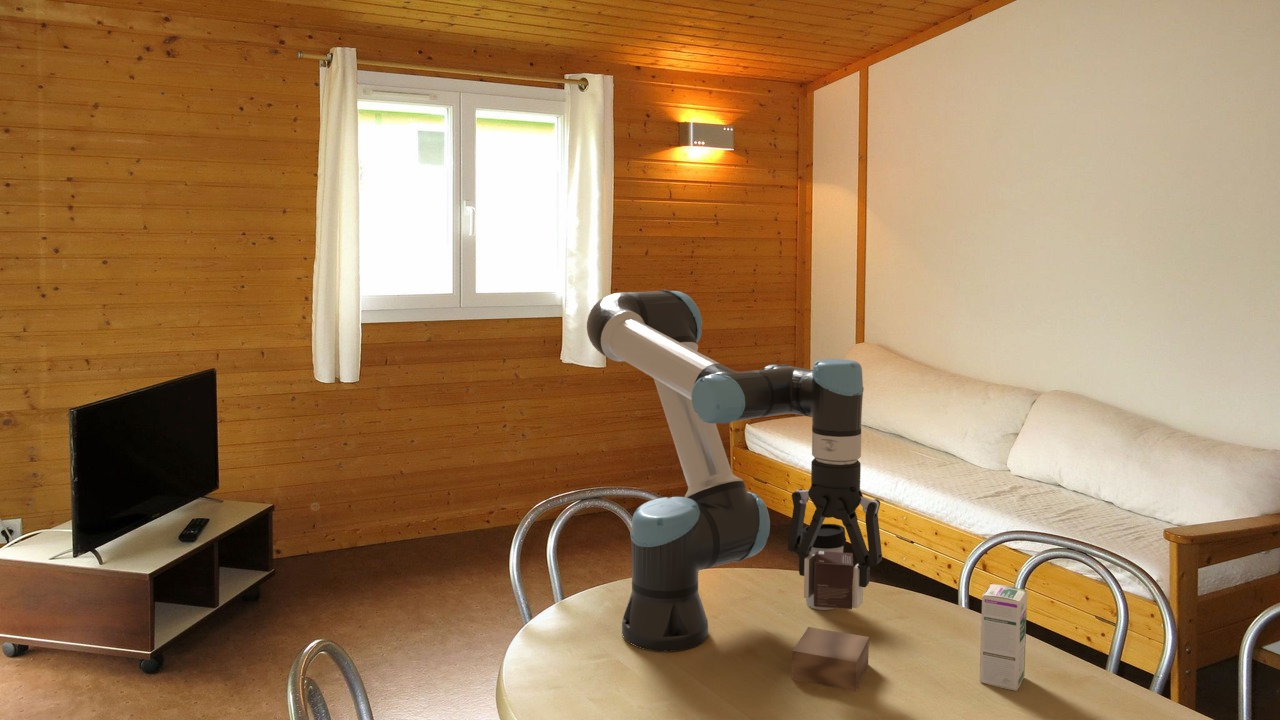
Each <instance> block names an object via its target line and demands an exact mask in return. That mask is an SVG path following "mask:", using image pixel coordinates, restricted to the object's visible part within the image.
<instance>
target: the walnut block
mask: <svg viewBox="0 0 1280 720" xmlns="http://www.w3.org/2000/svg"><path fill="white" fill-rule="evenodd" d="M869 646H870V637H869V636H864V635H859V634H853V633H847V632H841V631H834V630H830V629H825V628H824V629H823V628H817V627H811V626H808V627H807V628H806V630H805V631H804V633H803V635H801V637H800V638H799V640H798V642H797V644H796V645H795V646H794V647H793V649H792V659H791V663H792V664H791V665H792V666H791V679H792V680H793V681H794V680H795V681H799V682H805V683H809V684H815V685H819V686H826V687H830V688H835V689H841V690H845V691H851V692H857V690H858V688H859V686H860V683H861V682H862V679H863V677H864V675H865V672H866V670H867V668H868V666H869V657H870V656H869V654H870V653H869V651H870V650H869V649H870V647H869Z"/></svg>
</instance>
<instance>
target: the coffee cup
mask: <svg viewBox="0 0 1280 720" xmlns="http://www.w3.org/2000/svg"><path fill="white" fill-rule="evenodd" d="M809 526H810V524H809V525H805V526H803V530H802V536H801V543H802V542H803V540H804V538H805V535H806V533H807V531H808V528H809ZM846 541H847V538H846V527H845V526H842V525H840V524H836V523H822V526H821V528H820V530H819V533H818V535H817V537H816V540H815V542H814V544H813V547H812V549H811V550H812V551H811V552H810V553H809V555H810V554H815V552H816V551H824V552H841V553H844V547H845V546H846V544H847V542H846ZM805 603H806V605H807V607H809V608H811V609H814V610H819V611H830V610H831V611H832V610H835V609H836V608H823V607H814V594H813V595H812V596H811V597H810V598H809V599H807V598H805Z"/></svg>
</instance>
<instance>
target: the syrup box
mask: <svg viewBox="0 0 1280 720" xmlns="http://www.w3.org/2000/svg"><path fill="white" fill-rule="evenodd" d="M1027 604H1028V591H1027V590H1026V589H1023V588H1018V587H1016V586H1015V587H1014V586H1010V585H1004V584H1003V585H1002V584H993V583H991V584H989V586H988V588H986V590H985V591H984V592H983V594H982V596H981V620H980V621H981V624H980V657H979V658H980V659H979V660H980V661H979V662H980V663H979V682H980V683H982V684H986V685H989V686H992V687H997V688H1001V689H1006V690H1010V691H1013V692H1014V691H1016V692H1018V690H1019V688H1020V686H1021V684H1022V682H1023V680H1024V678H1025V669H1026V666H1025V665H1026V664H1025V663H1026V642H1027V641H1026V639H1027V638H1026V637H1027V635H1026V634H1027V633H1026V632H1027V608H1028V605H1027Z"/></svg>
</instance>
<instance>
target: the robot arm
mask: <svg viewBox="0 0 1280 720" xmlns="http://www.w3.org/2000/svg"><path fill="white" fill-rule="evenodd" d="M701 327H703V319H702V315H701V311H700V309H699V307H698V306H697V303H696V302H695V300H693V298H692V297H690V296H689V295H688V294H687V293H684V292H682V291H679V290H668V289H658V290H655V291H653V290H652V291H634V292H633V291H629V292H628V291H627V292H625V291H623V292H615V293H611V294H607V295H606V296H604V297H602V298H600V299H599V300H597V302H596V303H595V304H594V305H593V306H592V308H591V310H590V311H589V314H588V316H587V321H586V330H587V333H586V334H587V336H588V339H589V341H590V343H591V345H592V346H593V347H594V348H595V350H596V351H597V352H599V353H600V354H601V355H603V356H604V357H606V358H607V359H609V360H612V361H615V362H620V363H621V362H625V363H627V364H629V365H630V366H632V367H634V368H636V369H638V370H639V371H641V372H643V373H644V374H646V375H647V376H650V377H651V378H653V381H654V383H655V386H656V390H657V393H658V397H659V400H660V402H661V403H660V404H661V406H662V409H663V411H664V415H665V418H666V422H667V425H668V429H669V431H670V433H671V438H672V440H673V444H674V447H675V449H676V450H675V451H676V454H677V456H678V460H679V464H680V465H681V469H682V471H683V472H682V473H683V476H684V480H685V481H686V485H687V491H686V494H685V495H684V496H672V497H668V496H665V497H664V496H663V497H659V498H655V499H651V500H649V501H647V502H644V503H643V504H641V505H639V506H638V507H637V508H636V509H635V511H634V513H633V515H632V521H631V531H630V540H631V593H630V596H629V599H628V603H627V605H626V608H625V612H624V615H623V618H622V622H621V624H622V625H621V634H623V635H622V637H623V636H624V638H625V639H626V640H627V641H629V642H630V643H632V644H634V645H636V646H638V647H637V648H639V647H641V648H640V649H642V648H644V649H643V650H646V649H647V651H652V650H653V651H654V652H678V651H685V650H689V649H693V648H695V647H698V646H699V645H701V644H703V643H704V642H705V641H706V640H707V639H708V636H709V621H708V618H707V615H706V612H705V609H704V605H703V602H702V598H701V596H700V594H699V593H700V592H699V571H702V570H705V569H709V568H715V567H718V566H722V565H725V564H726V565H727V564H729V563H735V562H736V563H738V562H742V561H744V560H746V559H747V558H751V557H754V556H756V555H757V554H759V553H760V552H762V550H763V549H764V547H765V546H766V544H767V542H768V537H769V536H770V529H771V519H770V514H769V510H768V508H767V505H766V503H765V502H764V500H763V499H762V498H760V497H759V495H758V494H756V493H754V492H750V491H748V490H747V487H746V485H745V481H744V480H743V479H742V478H740V477H738V476H737V475H735V474H734V473H733V472H732V469H731V465H730V463H729V460H728V457H727V453H726V451H725V448H724V445H723V442H722V438H721V436H720V433H719V429H718V426H717V424H722V425H723V424H724V425H725V424H730V423H733V422H739V421H746V420H752V419H758V418H767V417H773V416H774V417H775V416H780V415H785V414H786V415H787V414H790V415H791V414H792V415H799V416H800V415H801V416H805V417H809V418H811V421H812V424H811V425H812V427H811V438H812V439H811V455H812V456H813V457H814V458H813V459H812V460H811V468H810V469H811V476H810V480H811V481H810V482H811V485H810V488H809V489H806V490H805V489H803V488H798V489H797V490H795V491H794V492H792V493H791V499H792V504H793V509H792V516H791V521H790V522H791V523H790V530H789V534H788V535H789V536H788V543H787V550H788V551H789V552H791V553H792V552H793V553H795V554H796V555H797V556H798V573H799V576H802V577H803V579H804V580H803V599H806V598H807V599H809V598H810V597H811V596H812V595H813V594H814V562H815V554H810V555H809V553H810V552H811V551H812V550H811V549H812V547H813V544H814V542H815V540H816V537H817V535H818V533H819V530H820V528H821V526H822V524H824V521H825V519H826V518H827V519H829V518H833V519H837V520H840V521H841V523H842V525H843V527H844V528H845V531H846V533H847V535H848V538H849V541H850V544H851V546H852V550H853V552H854V556H855V559H856V562H857V563H856V564H855V565H853V602H852V609H859V608H860V606H861V605H863V603H864V601H863V600H864V588H866V587H867V586H868V585H869V583H870V570H871V569H870V567H875V566H878V564H879V563H880V562H882V560H883V554H882V553H883V552H882V551H883V550H882V543H881V535H880V524H879V515H878V514H879V510H880V506H881V502H880V500H879V499H878V498H875V499H870V498H867V497H864V495H863V492H862V491H861V467H862V466H861V465H862V464H861V462H860V461H859V459H860V458H862V415H863V412H862V411H863V397H864V391H865V389H864V383H863V381H864V380H863V379H864V378H863V368H862V365H861V364H860V363H859V362H858V361H856V360H852V359H841V358H826V359H825V358H823V359H819V360H816V361H815V362H814V364H813V369H811V368H810V369H809V368H804V367H797V366H791V365H789V364H768V365H767V366H765V367H763V368H762V369H757V370H746V371H736V370H733V369H731V368H729V367H727V366H725V365H723V364H721V363H719V362H718V361H716V360H714V359H713V358H710V357H708V356H706V355H704V354H702V353H700V352H699V351H698V350H699V345H698V343H699V342H700V339H701V336H702V334H703V333H702V332H703V330H702V328H701ZM809 499H810V500H811V502H812V503H813V505H814V507H815V508H816V509H815V511H814V513H813V515H812V517H811V522H810V524H809V525H810V526H809V525H808V526H809V528H808V531H807V533H806V535H805V538H804V540H803V542H801V536H802V530H803V528H804V523H805V515H806V509H807V503H808V502H809ZM860 505H861V507H862V511H863V513H865V517H864V518H865V529H866V538H867V544H866V542H865V539H864V536H863V534H862V530H861V528H860V525H859V522H858V516H857V512H856V510H857V508H858V507H859V506H860ZM867 546H868V548H867ZM624 638H623V639H624ZM625 639H624V640H625ZM626 640H625V641H626ZM627 641H626V642H627ZM630 643H629V644H630ZM632 644H631V645H632ZM634 645H633V646H634ZM636 646H635V647H636Z"/></svg>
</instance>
